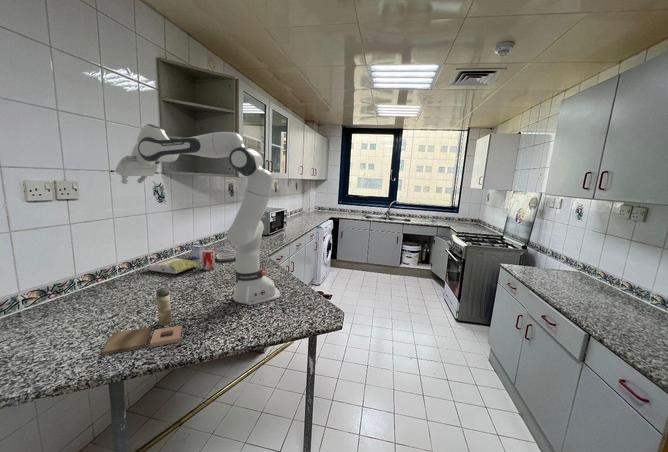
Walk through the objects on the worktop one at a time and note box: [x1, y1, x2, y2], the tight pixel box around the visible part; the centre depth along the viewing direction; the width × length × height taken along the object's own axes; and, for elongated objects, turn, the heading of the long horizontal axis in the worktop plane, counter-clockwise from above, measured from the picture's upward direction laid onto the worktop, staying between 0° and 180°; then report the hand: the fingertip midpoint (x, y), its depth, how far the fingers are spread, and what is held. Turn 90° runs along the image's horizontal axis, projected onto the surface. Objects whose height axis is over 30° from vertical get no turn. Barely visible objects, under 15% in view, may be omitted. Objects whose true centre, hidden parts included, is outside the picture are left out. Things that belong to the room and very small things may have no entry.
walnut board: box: [101, 326, 153, 356], centre depth 99 cm, size 12×12×1 cm
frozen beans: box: [143, 258, 203, 275], centre depth 171 cm, size 21×6×25 cm
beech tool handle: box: [155, 287, 173, 326], centre depth 111 cm, size 4×4×14 cm
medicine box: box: [191, 244, 205, 260], centre depth 196 cm, size 8×4×9 cm, turn 68°
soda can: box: [201, 248, 216, 271], centre depth 174 cm, size 7×7×12 cm
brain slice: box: [215, 250, 237, 263], centre depth 198 cm, size 20×17×3 cm
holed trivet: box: [149, 325, 183, 348], centre depth 102 cm, size 9×9×2 cm
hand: (132, 182), depth 132 cm, fingers open, 8 cm apart
